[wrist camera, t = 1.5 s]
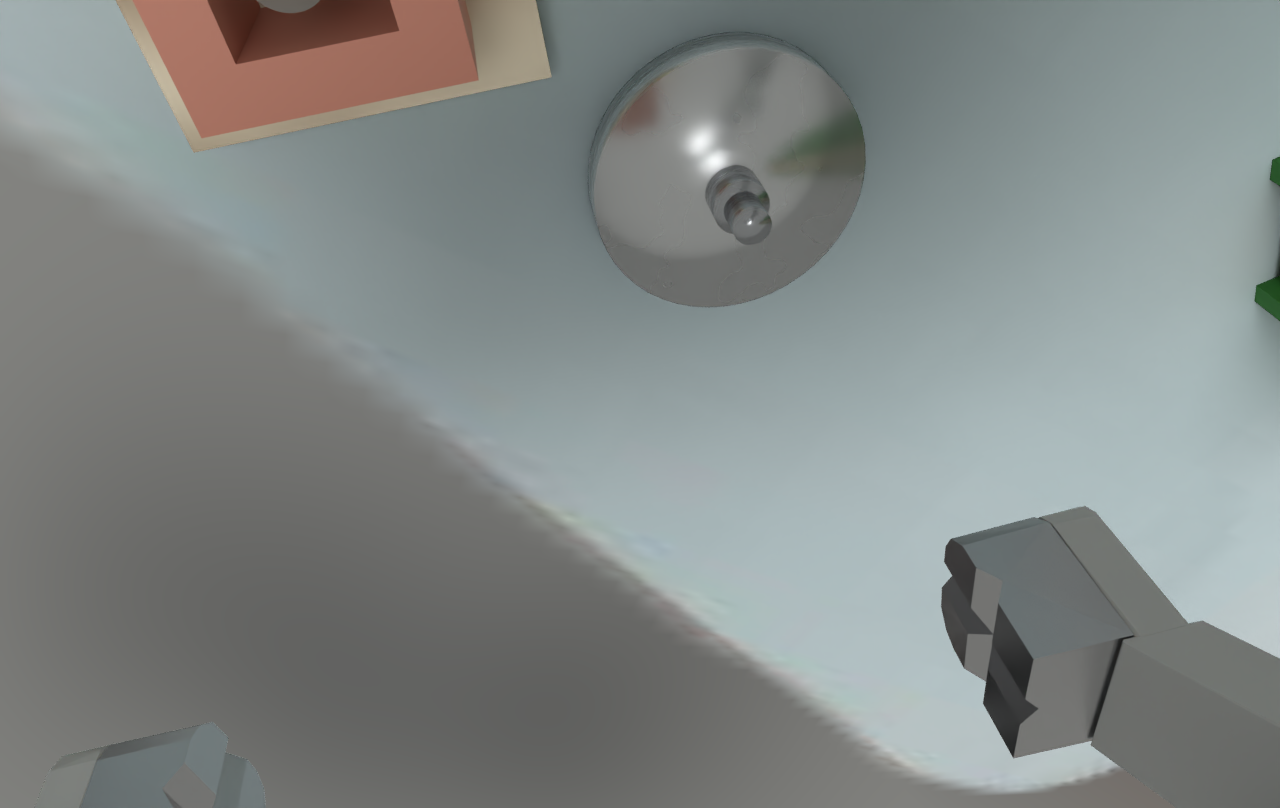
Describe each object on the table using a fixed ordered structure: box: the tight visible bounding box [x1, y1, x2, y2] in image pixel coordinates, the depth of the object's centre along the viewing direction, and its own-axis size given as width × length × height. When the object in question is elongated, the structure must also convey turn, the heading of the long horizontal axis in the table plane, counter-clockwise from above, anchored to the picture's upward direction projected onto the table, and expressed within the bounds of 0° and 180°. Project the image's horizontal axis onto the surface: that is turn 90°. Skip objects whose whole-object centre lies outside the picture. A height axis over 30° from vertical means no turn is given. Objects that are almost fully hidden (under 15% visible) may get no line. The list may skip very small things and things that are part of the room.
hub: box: [588, 33, 866, 307], centre depth 28 cm, size 9×9×4 cm
